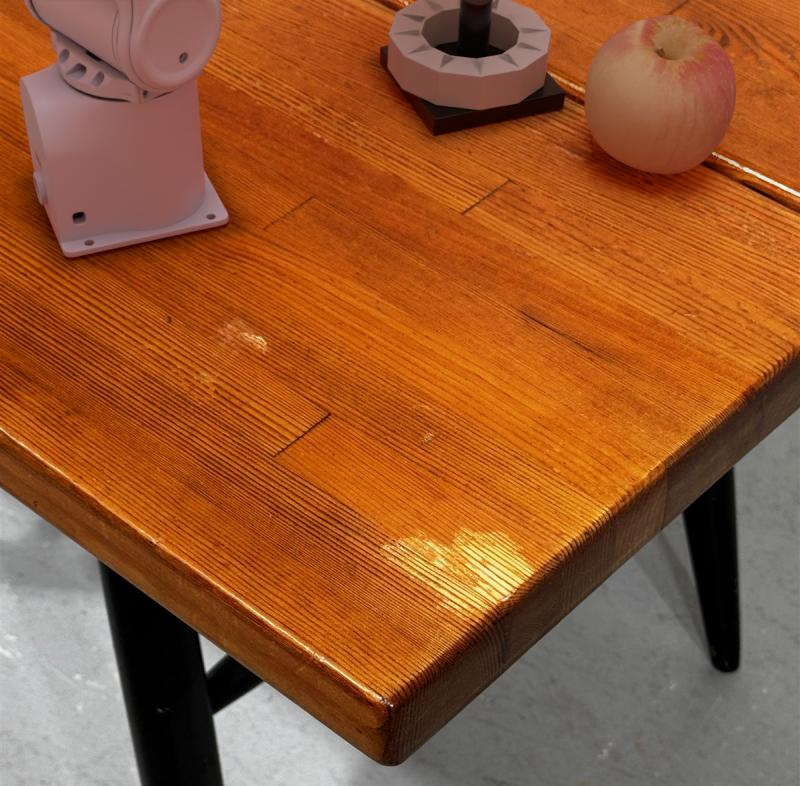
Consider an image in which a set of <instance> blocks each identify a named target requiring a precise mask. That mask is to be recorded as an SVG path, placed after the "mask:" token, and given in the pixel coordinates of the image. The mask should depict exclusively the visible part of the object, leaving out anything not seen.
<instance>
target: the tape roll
mask: <svg viewBox="0 0 800 786" xmlns="http://www.w3.org/2000/svg"><path fill="white" fill-rule="evenodd" d="M459 12H460V0H415V1H414V2H411V3H410V4H408V5H407V6H404V7H403V8H402V9H399V10H397V11H395V14H394V17H393V19H392V23H391V26H390V29H389V32H388V41H387V42H388V43H387V46H388V69H389V70H390V72H391V73H392V75H393V76H394V77H395V79H396V80H397V82H398V83H399V85H400V86H401V88H402V89H403V90H405V91H407V92H410V93H412V94H414V95H416V96H418V97H420V98H422V99H424V100H426V101H428V102H431V103H433V104H435V105H439V106H448V107H456V108H464V109H472V110H483V109H489V108H495V107H500V106H506V105H511V104H517V103H519V102H521V101H522V100H524V99H525V98H527V97H528V96H530V95H531V94H532V93H534V92H535V91H537V90H538V89H540V88H541V87H543V85H544V81H545V76H546V71H547V70H548V66H549V65H548V64H549V55H550V47H551V40H552V30H551V29H550V27H549V26H548V25H547V24H546V22H545V21H544V20H543V19H542V18H541V16H539V14H538V13H537V11H535V10H534V9H533V8H530V7H528V6H525V5H522V4H520V3H518V2H515V1H513V0H493V5H492V16H491V28H490V40H489V45H492V46H494V47H496V48H498V49H501V50H503V51H505V52H504V53H503V54H501V55H495V56H489V57H483V58H478V59H475V58H466V57H458V56H450V55H448V54H446V53H444V52H442V51H439V50H437V49H435V48H434V47H436V46H437V45H439V44H444V43H450V42H456V41H458V27H459Z"/></svg>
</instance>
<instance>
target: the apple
mask: <svg viewBox="0 0 800 786" xmlns="http://www.w3.org/2000/svg"><path fill="white" fill-rule="evenodd" d="M584 85H585V86H584V98H583V99H584V115H585V119H586V123H587V126H588V129H589V131H590V133H591V134H592V138H593V139H594V141H595V142H596V143H597V144H598V146H599V147H600V148H601V149H602V150H603V151H604V152H605V153H606V154H608V155H609V156H610V157H612V158H614V160H616V161H619V162H620V163H622V164H624V165H626V166H628V167H630V168H633V169H636V170H638V171H642V172H644V173H651V174H657V175H675V174H680V173H681V174H682V173H684V172H688V171H690V170H692V169H694V168H696V167H697V166H699V165H701V164H702V163H703V162H704V161H706V160H707V159H708V158H709V157H710V156H711V155H712V154H713V153H714V152H715V151H716V149H717V148H718V146H719V145H720V144H721V143H722V141H723V140H724V138H725V136H726V134H727V133H728V130H729V127H730V125H731V122H732V119H733V116H734V113H735V109H736V102H737V101H736V100H737V78H736V73H735V69H734V65H733V63H732V61H731V59H730V57H729V55H728V54H727V51H725V48H723V47H722V45H720V43H719V42H718V41H717V40H716V39H715V38H714V37H712V36H711V35H710V34H709V33H708V32H707V31H705V30H704V29H703V28H702V27H700V26H699V25H697V24H695V23H694V22H693V21H691V20H688V19H686V18H683V17H681V16H676V15H669V14H663V15H658V16H657V15H656V16H653V17H648V18H644V19H640V20H637V21H634V22H632V23H630V24H627V25H625V26H623V27H622V28H620V29H618V30H617V31H616V32H614V33H613V34H612V35H610V36H609V37H608V38H607V39H606V40H605V41H604V42H603V43H602V45H601V46H600V47H599V48H598V49H597V51H596V53H595V55H594V56H593V58H592V60H591V63H590V65H589V69H588V72H587V75H586V80H585V84H584Z"/></svg>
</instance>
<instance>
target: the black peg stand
mask: <svg viewBox="0 0 800 786" xmlns="http://www.w3.org/2000/svg"><path fill="white" fill-rule="evenodd" d="M492 5H493V0H460V12H459V27H458V41H456V42H450V43H444V44H439V45H437V46H436V47H434V48H435V49H437V50H439V51H442V52H444V53H446V54H448V55H450V56H458V57H466V58H475V59H478V58H483V57H489V56H495V55H501V54H503V53H504V52H505V51H503V50H501V49H498V48H496V47H494V46H492V45H489V40H490V28H491V16H492ZM379 64H380V65H381V67H382V68H383V69H384V71H385V72H386V73H387V75H388V76H389V77H390V78H391V80H392V82H393V83H394V84H395V85H396V87H397V89H399V91H400V92H401V93H402V95H403V96H404V98H405V99H406V100H407V101H408V103H409V104H410V106H411V107H412V108H413V110H414V111H415V113H417V115H418V117H420V119H421V121H422V122H423V123H424V124H425V125H426V127H427V128H428V130H429V131H430V132H431V134H432V135H433V136H438V135H444V134H448V133H452V132H457V131H462V130H467V129H472V128H477V127H481V126H487V125H491V124H496V123H501V122H505V121H511V120H515V119H521V118H525V117H530V116H535V115H539V114H544V113H549V112H553V111H554V112H555V111H558V110H563V109H564V108H565V107H564V106H565V99H566V92H565V90H564V89H563V88H562V87H561V86H560V85H559V83H557V81H556V80H555V79H554V78H553V77H552V76H551V75H550V73H549V72H548V71H547V70H546V76H545V81H544V85H543V87H541V88H540V89H538V90H537V91H535V92H534V93H532V94H531V95H530V96H528V97H527V98H525V99H524V100H522V101H521V102H519V103H517V104H511V105H506V106H500V107H495V108H489V109H483V110H472V109H464V108H456V107H448V106H439V105H435V104H433V103H431V102H428V101H426V100H424V99H422V98H420V97H418V96H416V95H414V94H412V93H410V92H407V91H405V90H403V89H402V88H401V86H400V85H399V83H398V82H397V80H396V79H395V77H394V76H393V75H392V73H391V72H390V70H389V69H388V45H383V46H380V47H379Z"/></svg>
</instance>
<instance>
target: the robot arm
mask: <svg viewBox="0 0 800 786" xmlns="http://www.w3.org/2000/svg"><path fill="white" fill-rule="evenodd" d="M23 2H24V5H25V6H26V8H27V10H28V12H29V13H30V14H31V15H32V16H33V18H34V19H35V20H37V21H38V22H39V23H41V24H42V25H44V26H45V27H47V28H49V32H50V40H51V45H52V50H53V51H54V52H55V53H56V58H57V61H54V62H53V63H52V64H50V65H48V66H47V67H45V68H42V69H40V70H38V71H35V72H32V73H30V74H27V75H24V76H21V77H20V78H19V84H18V85H19V95H20V101H21V108H22V113H23V118H24V119H23V120H24V124H25V130H26V135H27V140H28V147H29V152H30V157H31V164H32V169H33V173H32V179H33V184H34V188H35V192H36V197H37V198H38V201H39V203H40V205H43V208H44V209H45V213H46V215H47V217H48V220H49V222H50V224H51V227H52V230H53V233H54V235H55V237H56V239H57V242H58V244H59V247H60V249H61V252H62V254H63V255H64V256H65V257H68V258H77V257H82V256H86V255H90V254H95V253H96V254H97V253H100V252H105V251H109V250H114V249H119V248H123V247H128V246H133V245H138V244H143V243H147V242H151V241H156V240H161V239H165V238H169V237H175V236H180V235H183V234H184V235H185V234H188V233H193V232H197V231H202V230H208V229H212V228H215V227H220V226H224V225H227V223H229V220H230V219H229V213H228V211H227V209H226V207H225V205H224V203H223V202H222V200H221V197H219V195H218V193H217V191H216V189H215V187H214V185H213V183H212V181H211V180H210V178H209V176H208V174H207V172H206V171H205V166H204V154H203V152H204V151H203V140H202V127H201V116H200V115H201V114H200V102H199V88H198V78H201V76H203V75H204V73H203V72H204V71H203V70H204V69H205V67H206V66H207V65H208V63H209V62H210V61H211V58H212V57H213V54H214V53H215V50H216V48H217V47H218V43H219V40H220V36H221V30H222V23H223V13H222V11H223V10H222V5H221V0H23Z"/></svg>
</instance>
